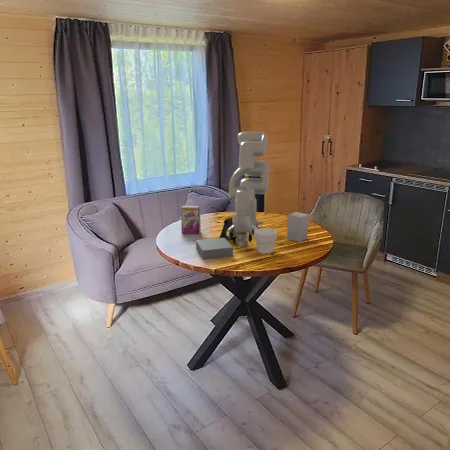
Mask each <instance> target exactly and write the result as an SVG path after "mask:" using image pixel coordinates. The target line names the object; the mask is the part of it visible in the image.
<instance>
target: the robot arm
mask: <svg viewBox="0 0 450 450" xmlns="http://www.w3.org/2000/svg"><path fill="white" fill-rule="evenodd" d="M237 141H238V144H239V152H238V153H239V154H238V168H237V169H236V170H235V171H234V173H233V174H232V176H231V177H230V181H229V184H228V185H229V187H228V196H229V199H231V200H233V201H235V214H233V217H232V219H233V226H231V227H230V228H229V229H227V233H228V234H229V233H230V234H231V235H232V240H231V242H232V243H233V244H234V245H237V238H236V237H235V236H236V234H237V233H248V243H252V241H253V236H254V230H256V229H259V225H264V221H263V220H257V198H256V197H255V196H256V195H266V194H268V192H269V189H270V188H269V184H270V183H269V182H270V180H269V179H270V166H269V162H268V161H266V160H258V158H257V157H264V156H265V155H266V152H267V146H268V134H267V133H266V132H264V131H241V132H239V133H238V134H237ZM243 175H244V176H246V177H245V178H242V179H241V180H240V182H239V186H235V184H236V181H237V180H238V179H239V178H240V177H241V176H243ZM247 176H249V177H247ZM253 177H254V178H253ZM255 177H259V178H255ZM232 229H233V231H234V232H233V233H232V232H231V230H232Z"/></svg>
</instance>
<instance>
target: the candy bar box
mask: <svg viewBox="0 0 450 450" xmlns="http://www.w3.org/2000/svg"><path fill="white" fill-rule="evenodd" d="M180 216H181V217H180V219H181V221H180V222H181V224H180V225H181V234H194V235H198V234H199V235H200V233H201V206H199V205H195V206H194V205H182V206H181V207H180Z"/></svg>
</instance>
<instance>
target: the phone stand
mask: <svg viewBox="0 0 450 450" xmlns="http://www.w3.org/2000/svg"><path fill="white" fill-rule="evenodd" d="M231 226H233V217H230V216H229V217H227V218H225V219H224V220H223V226H222V229H221V233H220V235H219V237H218V238H225V239H226V240H227V241H232V235H231V234H230V233H229V232H228V230H227V229H229V228H230V227H231ZM231 232H232V233H233V232H234V231H233V229H232V230H231ZM227 234H229V235H227ZM235 237H236V239H237V234H236V236H235Z"/></svg>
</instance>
